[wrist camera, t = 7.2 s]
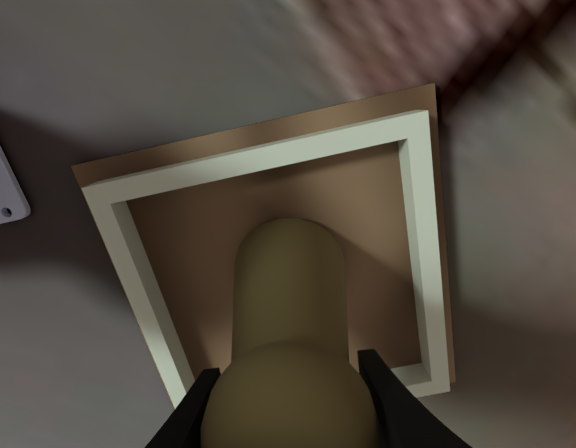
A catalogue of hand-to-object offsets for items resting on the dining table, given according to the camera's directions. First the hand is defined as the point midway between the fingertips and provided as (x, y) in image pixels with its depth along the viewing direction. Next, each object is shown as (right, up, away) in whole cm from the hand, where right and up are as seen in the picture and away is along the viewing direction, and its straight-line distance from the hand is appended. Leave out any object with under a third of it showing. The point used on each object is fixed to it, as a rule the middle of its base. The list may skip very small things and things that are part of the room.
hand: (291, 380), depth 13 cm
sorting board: (0, +2, +7) cm, 7 cm away
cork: (0, +3, +6) cm, 7 cm away
